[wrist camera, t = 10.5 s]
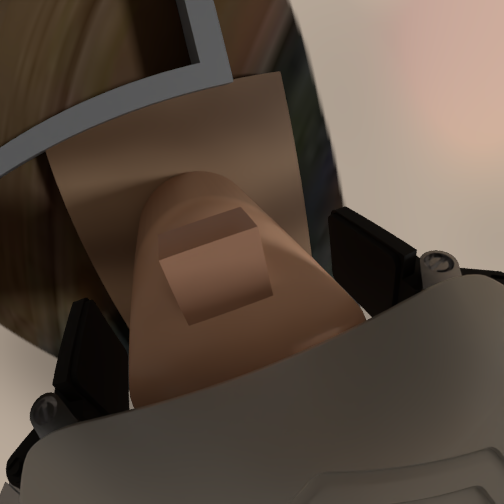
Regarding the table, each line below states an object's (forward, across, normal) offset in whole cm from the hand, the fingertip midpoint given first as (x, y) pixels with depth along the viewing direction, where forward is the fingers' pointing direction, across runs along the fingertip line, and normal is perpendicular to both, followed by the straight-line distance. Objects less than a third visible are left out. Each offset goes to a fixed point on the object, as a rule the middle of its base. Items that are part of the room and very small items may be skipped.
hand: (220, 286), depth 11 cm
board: (+6, 0, 0) cm, 6 cm away
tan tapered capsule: (+5, 0, 0) cm, 5 cm away
